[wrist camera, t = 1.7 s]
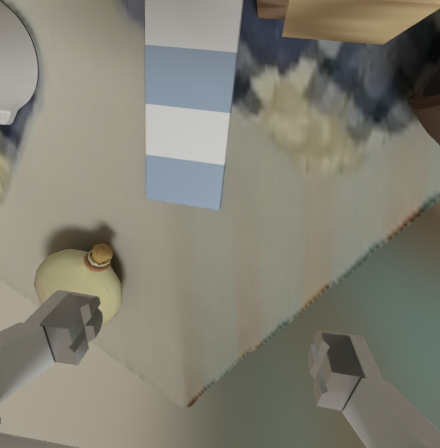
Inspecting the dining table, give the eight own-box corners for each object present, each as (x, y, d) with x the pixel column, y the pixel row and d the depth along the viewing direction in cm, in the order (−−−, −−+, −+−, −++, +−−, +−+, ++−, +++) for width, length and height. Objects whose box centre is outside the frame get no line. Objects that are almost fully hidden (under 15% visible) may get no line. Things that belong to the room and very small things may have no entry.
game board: (149, 196, 43) (146, 198, 42) (149, -20, 32) (144, -25, 31) (220, 207, 42) (219, 210, 41) (245, -15, 31) (244, -20, 30)
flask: (48, 275, 53) (84, 209, 47) (113, 319, 55) (157, 260, 48) (7, 304, 44) (44, 227, 38) (86, 355, 46) (135, 289, 40)
